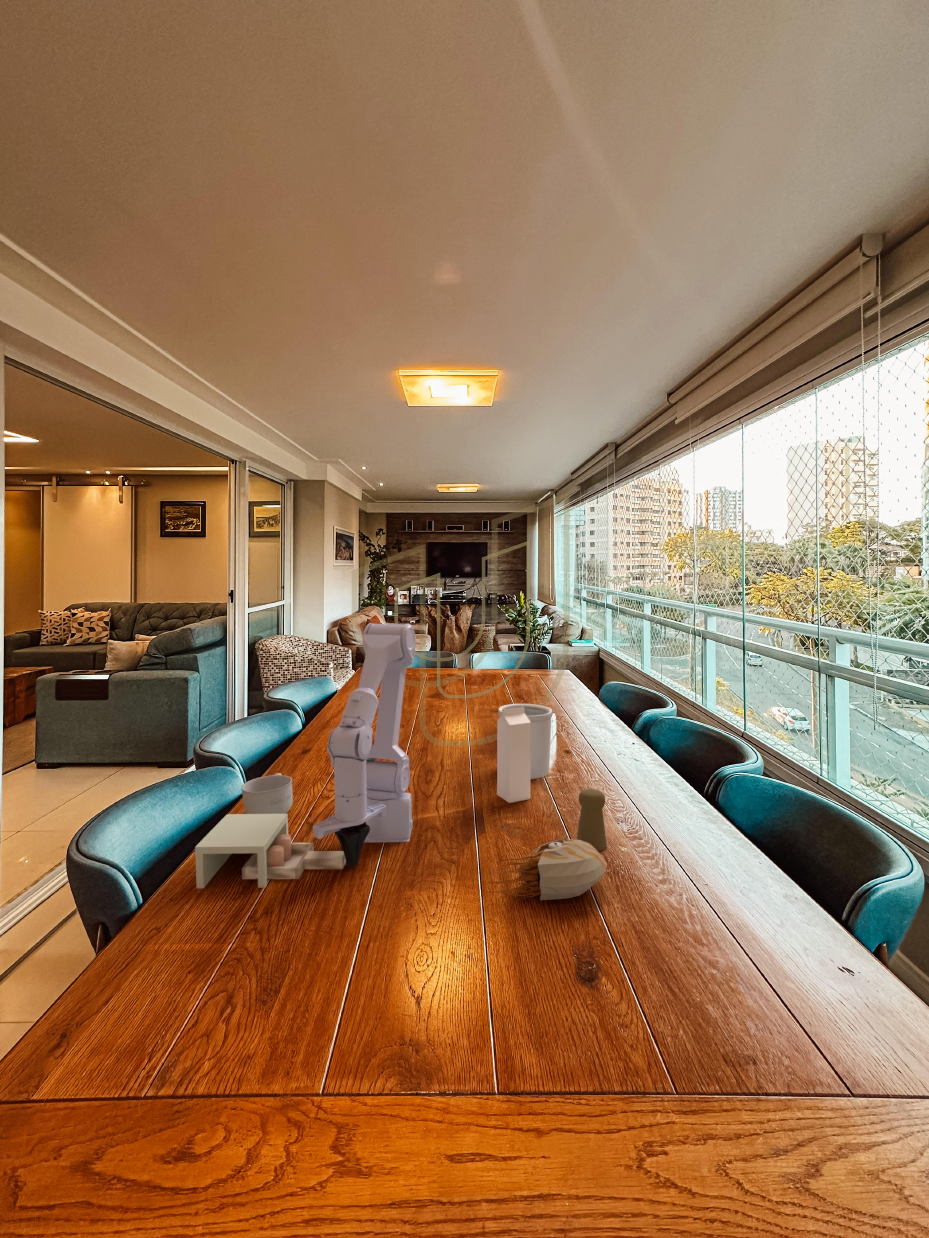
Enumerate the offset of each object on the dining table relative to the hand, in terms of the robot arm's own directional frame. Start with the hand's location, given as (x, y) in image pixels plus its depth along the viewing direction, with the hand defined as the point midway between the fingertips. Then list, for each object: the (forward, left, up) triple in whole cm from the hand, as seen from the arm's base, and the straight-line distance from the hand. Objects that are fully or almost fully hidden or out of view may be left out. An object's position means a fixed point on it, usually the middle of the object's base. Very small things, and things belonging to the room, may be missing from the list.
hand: (351, 864), depth 108 cm
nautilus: (-34, +7, -1) cm, 35 cm away
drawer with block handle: (+10, -1, -1) cm, 10 cm away
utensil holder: (-38, -54, -1) cm, 66 cm away
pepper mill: (-46, -9, -1) cm, 47 cm away
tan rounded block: (+14, +1, 0) cm, 14 cm away
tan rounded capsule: (+14, -3, 0) cm, 14 cm away
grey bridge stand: (+19, 0, -1) cm, 19 cm away
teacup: (+23, -26, -1) cm, 35 cm away
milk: (-33, -35, -1) cm, 48 cm away
